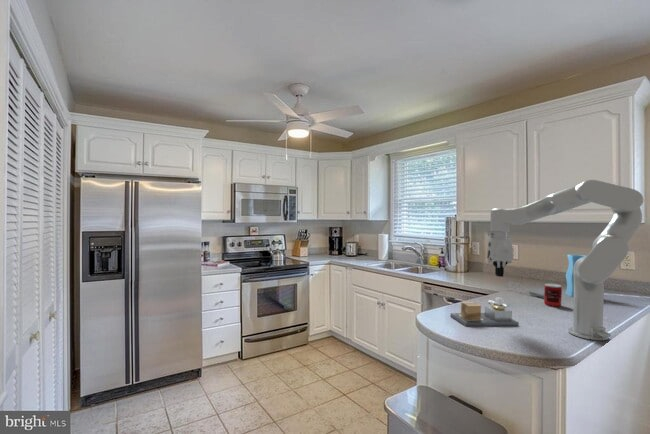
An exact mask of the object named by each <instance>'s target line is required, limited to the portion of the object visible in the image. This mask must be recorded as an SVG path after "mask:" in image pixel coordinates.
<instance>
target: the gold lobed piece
mask: <svg viewBox="0 0 650 434" xmlns="http://www.w3.org/2000/svg"><path fill="white" fill-rule="evenodd" d="M491 306H492V308H493V309H496V310H505V308H506V307H503V306H504V305H503V306H502V305H497V304H493V305H491Z"/></svg>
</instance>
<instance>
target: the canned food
mask: <svg viewBox="0 0 650 434" xmlns="http://www.w3.org/2000/svg"><path fill="white" fill-rule="evenodd" d="M543 287H544V293H543V294H544V298H543V301H544V302H543V303H544V305H546V306H547V307H552V306H553V308H554V307H555V308H559V307H562V291H563V289H562V288H563V287H562V285H561V284H558V283H557V284H556V283H545V284H544V286H543Z"/></svg>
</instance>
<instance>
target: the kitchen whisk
mask: <svg viewBox="0 0 650 434" xmlns="http://www.w3.org/2000/svg"><path fill="white" fill-rule="evenodd" d="M513 285H518V287H516V286H512V281H511V282H510V281H509V282H507V283H506V286H505V287H506V289H508V287H511V288H513V289H514V291H517V290H515V289H518V291H519V293H522V290H521V288H523V289H524V290H525V289H526V290H525V293H526V294H529V295H532V296H534V297H537V298H542V299H544V293H542V292H540V291H535V290H532V289H528V288H527V287H526V286H523V285H521V284H519V282H518V283H517V282H513ZM519 287H520V288H519ZM511 288H509V291H512V289H511Z"/></svg>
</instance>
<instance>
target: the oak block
mask: <svg viewBox="0 0 650 434" xmlns="http://www.w3.org/2000/svg"><path fill="white" fill-rule="evenodd" d="M460 304H461V305H460V311H461V312H460V313H461V316H463V317H465V318H466V319H481V313H482V306H481V305H480V304H478V303H476V302H473V301H470V302H469V301H461V303H460Z"/></svg>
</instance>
